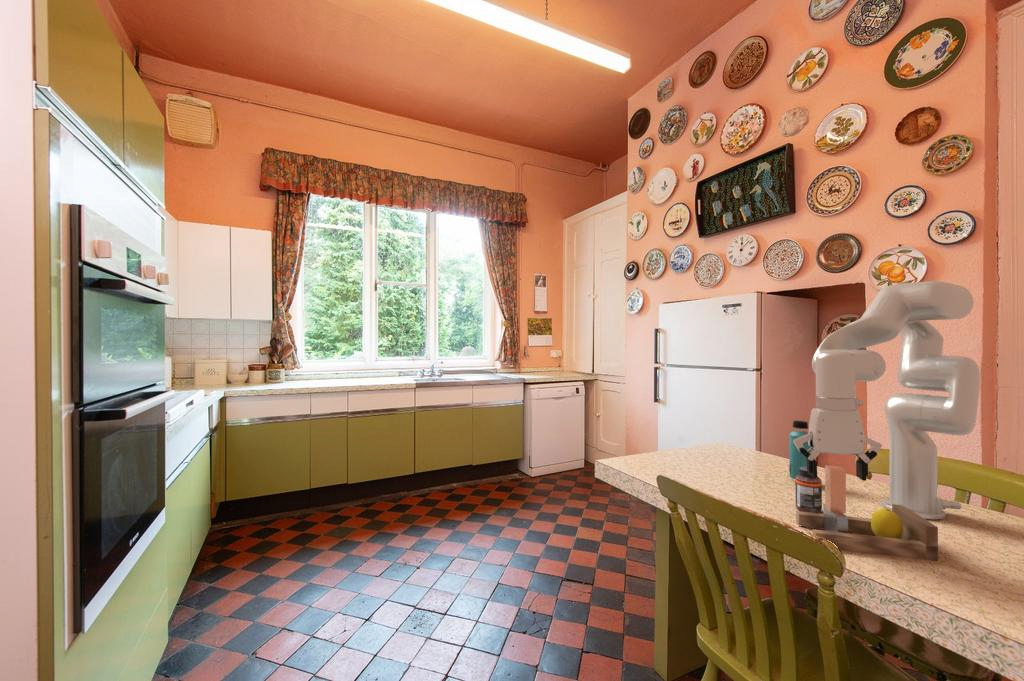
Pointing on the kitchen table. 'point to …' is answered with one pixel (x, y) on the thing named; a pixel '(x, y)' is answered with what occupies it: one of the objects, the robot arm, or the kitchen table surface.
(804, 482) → the supplement bottle
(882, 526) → the lemon
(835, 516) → the sliding jaw
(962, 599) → the kitchen table surface
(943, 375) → the robot arm
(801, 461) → the beverage bottle
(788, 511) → the kitchen table surface
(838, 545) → the frame
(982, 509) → the kitchen table surface
